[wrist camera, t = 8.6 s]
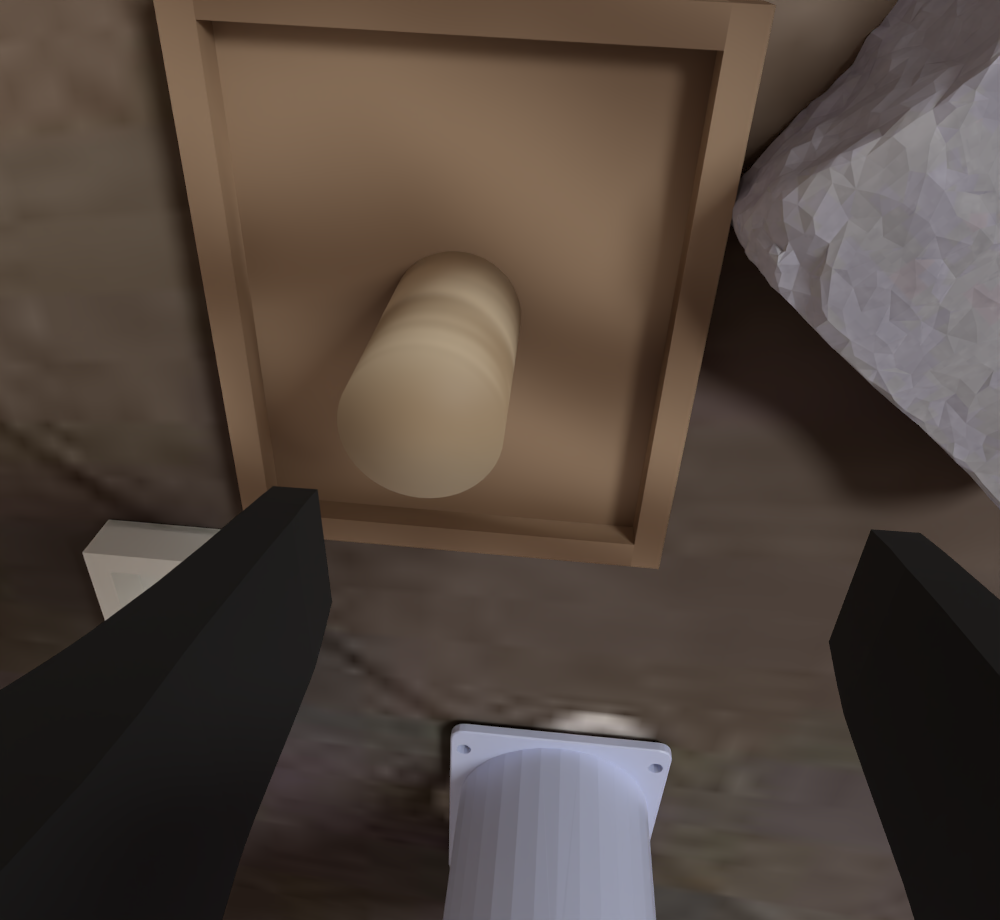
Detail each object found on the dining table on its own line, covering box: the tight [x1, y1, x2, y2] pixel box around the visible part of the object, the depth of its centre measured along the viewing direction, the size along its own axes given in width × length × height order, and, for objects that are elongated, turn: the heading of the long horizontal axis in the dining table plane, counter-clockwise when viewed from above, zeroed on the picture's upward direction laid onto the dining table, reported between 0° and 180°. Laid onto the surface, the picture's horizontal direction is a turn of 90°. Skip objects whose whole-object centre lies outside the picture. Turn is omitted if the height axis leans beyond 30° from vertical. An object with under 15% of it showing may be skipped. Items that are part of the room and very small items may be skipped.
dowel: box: [337, 251, 521, 498], centre depth 17 cm, size 3×3×6 cm
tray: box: [153, 0, 776, 569], centre depth 19 cm, size 14×12×1 cm
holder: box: [82, 519, 221, 620], centre depth 26 cm, size 6×6×2 cm
